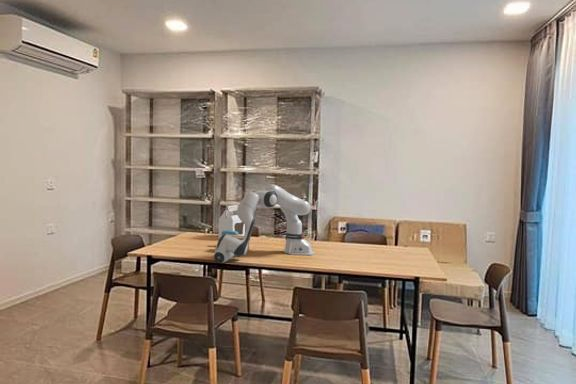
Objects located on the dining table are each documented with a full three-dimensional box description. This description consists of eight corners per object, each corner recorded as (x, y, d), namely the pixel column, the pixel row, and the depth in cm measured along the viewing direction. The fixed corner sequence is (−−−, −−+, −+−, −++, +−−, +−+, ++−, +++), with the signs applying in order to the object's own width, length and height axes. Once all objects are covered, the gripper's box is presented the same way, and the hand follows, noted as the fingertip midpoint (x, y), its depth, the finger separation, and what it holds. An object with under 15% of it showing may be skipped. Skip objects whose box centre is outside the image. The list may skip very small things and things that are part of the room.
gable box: (232, 241, 353) (233, 207, 351) (218, 239, 358) (219, 206, 356) (244, 237, 374) (245, 205, 372) (231, 235, 379) (232, 204, 377)
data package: (238, 246, 330) (238, 231, 329) (235, 248, 326) (236, 232, 325) (223, 245, 333) (224, 230, 333) (221, 246, 329) (221, 230, 328)
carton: (248, 250, 316) (249, 235, 316) (244, 253, 307) (245, 237, 306) (225, 249, 320) (225, 234, 319) (220, 251, 310) (221, 236, 309)
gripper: (242, 248, 279) (249, 245, 293) (212, 246, 283) (220, 243, 297) (242, 258, 280) (248, 254, 293) (212, 256, 284) (220, 252, 297)
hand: (234, 248), depth 295 cm, fingers closed
